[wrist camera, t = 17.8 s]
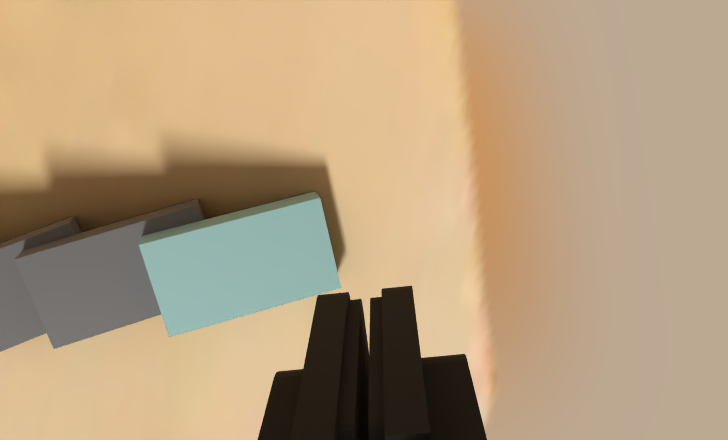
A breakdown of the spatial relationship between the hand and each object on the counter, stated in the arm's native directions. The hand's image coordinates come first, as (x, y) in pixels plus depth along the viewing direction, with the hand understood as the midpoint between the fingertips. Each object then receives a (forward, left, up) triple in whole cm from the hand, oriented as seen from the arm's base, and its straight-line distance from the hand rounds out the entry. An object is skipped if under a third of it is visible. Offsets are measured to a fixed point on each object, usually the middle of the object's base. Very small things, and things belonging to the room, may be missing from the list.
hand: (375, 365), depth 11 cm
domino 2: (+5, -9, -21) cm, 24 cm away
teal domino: (+5, -3, -21) cm, 22 cm away
